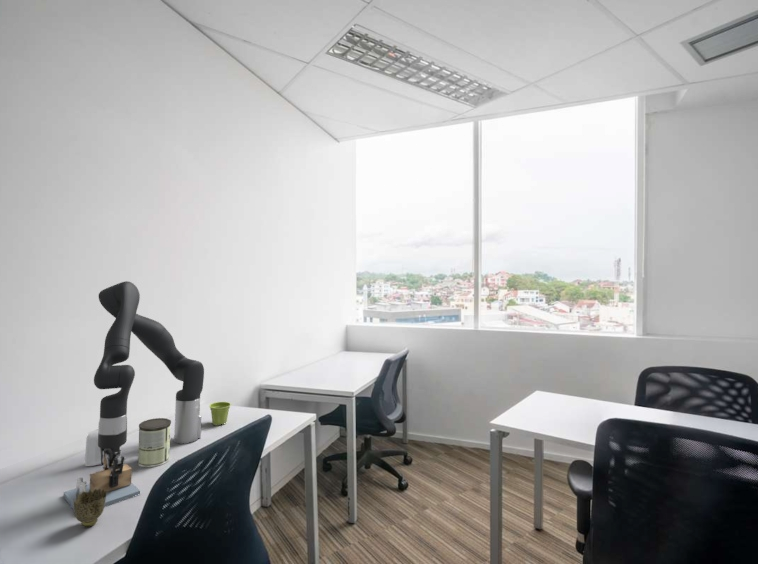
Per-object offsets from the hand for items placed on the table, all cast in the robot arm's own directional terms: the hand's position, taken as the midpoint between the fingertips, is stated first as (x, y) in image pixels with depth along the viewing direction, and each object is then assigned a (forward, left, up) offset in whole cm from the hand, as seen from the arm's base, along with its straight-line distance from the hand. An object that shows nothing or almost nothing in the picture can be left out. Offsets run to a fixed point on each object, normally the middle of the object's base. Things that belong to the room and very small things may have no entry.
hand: (110, 483), depth 127 cm
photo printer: (-5, -24, -3) cm, 25 cm away
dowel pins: (+8, 0, -2) cm, 8 cm away
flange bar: (0, 0, -1) cm, 1 cm away
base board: (+2, 0, -3) cm, 4 cm away
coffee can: (-18, -13, -3) cm, 22 cm away
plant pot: (-54, -32, -3) cm, 63 cm away
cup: (+9, +14, -3) cm, 17 cm away
